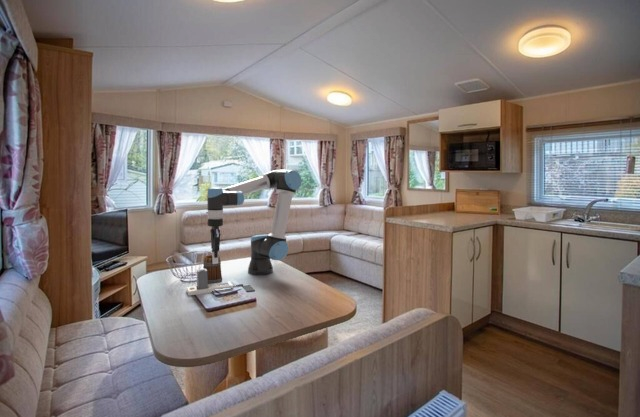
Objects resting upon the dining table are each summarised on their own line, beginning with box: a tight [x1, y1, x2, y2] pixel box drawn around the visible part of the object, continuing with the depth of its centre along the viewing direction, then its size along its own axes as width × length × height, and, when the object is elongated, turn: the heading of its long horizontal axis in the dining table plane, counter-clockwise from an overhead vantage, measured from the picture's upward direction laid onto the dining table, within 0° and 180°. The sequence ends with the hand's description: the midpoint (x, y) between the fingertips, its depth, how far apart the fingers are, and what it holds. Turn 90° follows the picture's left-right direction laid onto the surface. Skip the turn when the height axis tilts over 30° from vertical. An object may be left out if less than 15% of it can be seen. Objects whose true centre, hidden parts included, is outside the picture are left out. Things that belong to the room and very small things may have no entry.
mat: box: [241, 284, 256, 293], centre depth 186 cm, size 9×9×1 cm
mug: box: [202, 253, 223, 284], centre depth 197 cm, size 16×11×15 cm
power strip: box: [186, 280, 244, 296], centre depth 183 cm, size 28×7×4 cm, turn 118°
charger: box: [196, 267, 208, 290], centre depth 179 cm, size 4×4×12 cm
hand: (215, 263), depth 181 cm, fingers closed
